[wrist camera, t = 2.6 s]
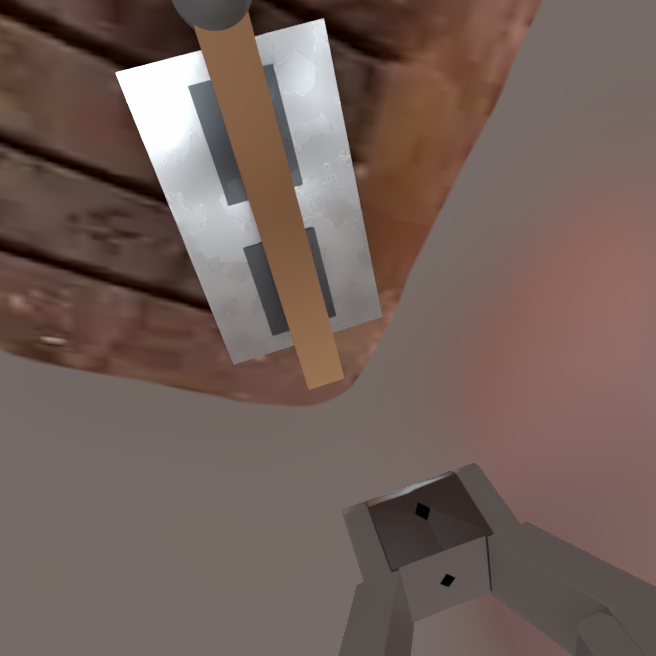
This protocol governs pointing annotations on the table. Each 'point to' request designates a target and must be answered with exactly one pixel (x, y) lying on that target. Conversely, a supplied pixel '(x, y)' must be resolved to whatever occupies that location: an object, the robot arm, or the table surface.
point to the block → (230, 195)
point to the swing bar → (265, 175)
